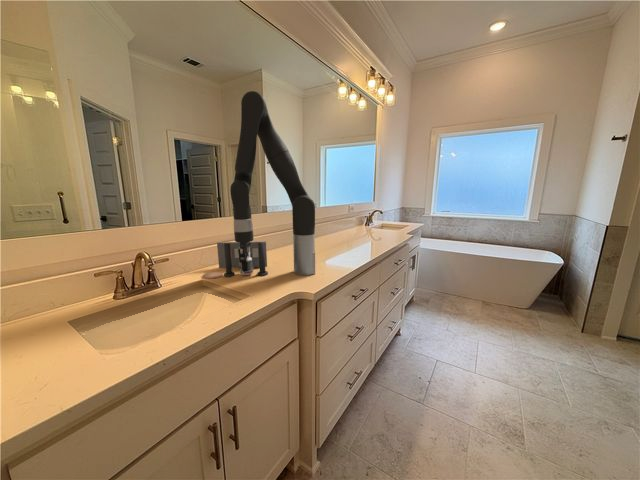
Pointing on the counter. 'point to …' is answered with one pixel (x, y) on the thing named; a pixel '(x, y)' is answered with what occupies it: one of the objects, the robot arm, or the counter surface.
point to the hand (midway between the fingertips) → (246, 268)
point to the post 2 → (262, 260)
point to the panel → (235, 255)
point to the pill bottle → (250, 266)
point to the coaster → (212, 275)
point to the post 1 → (228, 261)
